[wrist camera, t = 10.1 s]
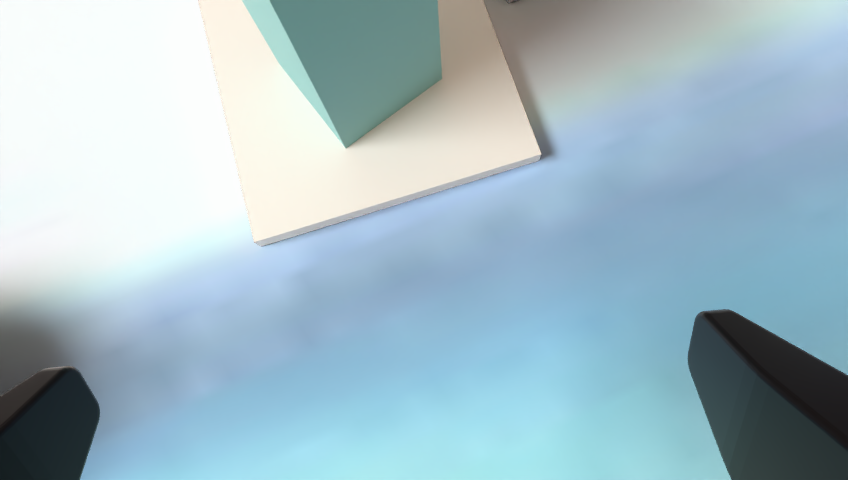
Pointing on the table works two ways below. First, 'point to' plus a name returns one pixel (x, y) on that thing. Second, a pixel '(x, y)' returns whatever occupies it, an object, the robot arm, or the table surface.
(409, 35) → the teal block
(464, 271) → the table surface
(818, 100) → the table surface
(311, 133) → the pad
